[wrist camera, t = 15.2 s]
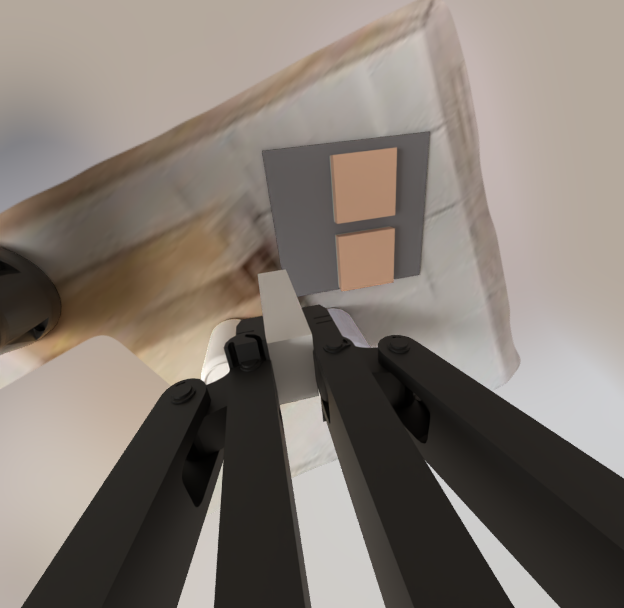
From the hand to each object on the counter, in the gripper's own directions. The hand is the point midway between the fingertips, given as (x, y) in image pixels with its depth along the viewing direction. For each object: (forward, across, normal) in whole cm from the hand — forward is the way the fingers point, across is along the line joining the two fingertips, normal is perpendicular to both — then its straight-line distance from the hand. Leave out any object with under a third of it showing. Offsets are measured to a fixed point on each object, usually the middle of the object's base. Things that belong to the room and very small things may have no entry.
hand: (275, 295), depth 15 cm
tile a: (+28, +11, +2) cm, 30 cm away
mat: (+29, +14, -3) cm, 33 cm away
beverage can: (+30, -7, -20) cm, 37 cm away
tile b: (+28, +12, -9) cm, 31 cm away
